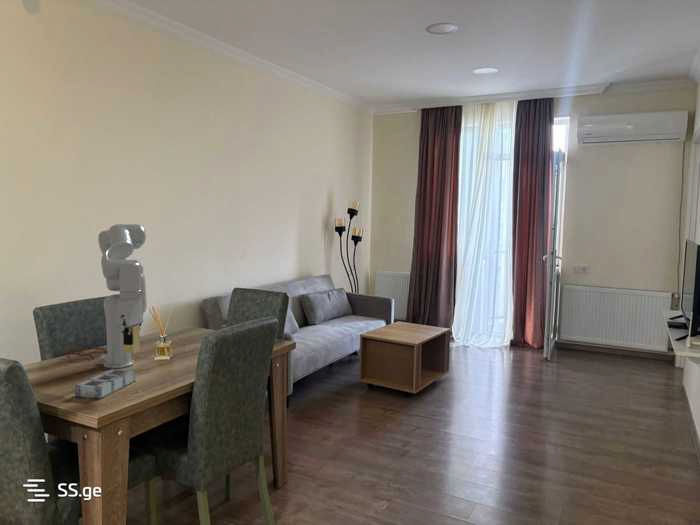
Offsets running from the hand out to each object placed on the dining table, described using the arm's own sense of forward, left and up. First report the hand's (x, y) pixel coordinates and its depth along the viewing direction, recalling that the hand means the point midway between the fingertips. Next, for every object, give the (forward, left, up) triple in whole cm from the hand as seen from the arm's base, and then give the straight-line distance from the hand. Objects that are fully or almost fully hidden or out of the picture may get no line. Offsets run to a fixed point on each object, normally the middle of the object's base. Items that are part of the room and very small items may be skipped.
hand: (131, 342), depth 198 cm
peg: (0, 0, -3) cm, 3 cm away
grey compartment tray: (-11, 0, -19) cm, 22 cm away
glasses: (-51, +42, -19) cm, 69 cm away
